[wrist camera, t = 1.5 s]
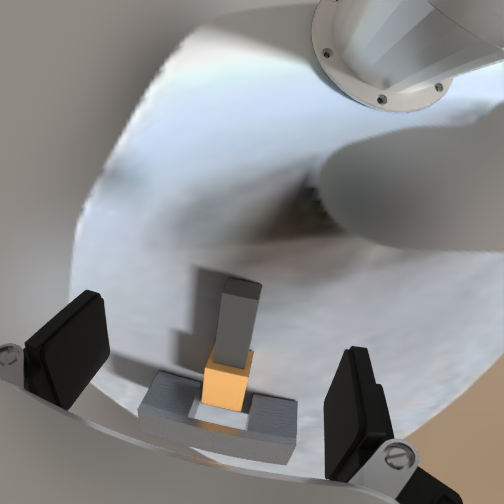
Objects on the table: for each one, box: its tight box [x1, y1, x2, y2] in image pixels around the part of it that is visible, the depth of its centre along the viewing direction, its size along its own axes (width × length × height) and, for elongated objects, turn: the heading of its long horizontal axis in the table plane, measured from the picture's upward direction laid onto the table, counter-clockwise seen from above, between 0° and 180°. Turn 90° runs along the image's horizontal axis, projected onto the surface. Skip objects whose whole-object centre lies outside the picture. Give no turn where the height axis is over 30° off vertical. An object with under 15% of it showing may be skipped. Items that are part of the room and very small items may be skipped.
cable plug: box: [202, 278, 262, 412], centre depth 29 cm, size 12×4×4 cm, turn 171°
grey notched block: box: [138, 371, 298, 465], centre depth 31 cm, size 4×16×6 cm, turn 81°
